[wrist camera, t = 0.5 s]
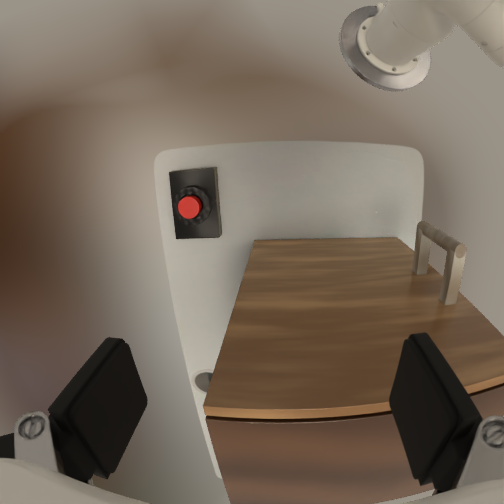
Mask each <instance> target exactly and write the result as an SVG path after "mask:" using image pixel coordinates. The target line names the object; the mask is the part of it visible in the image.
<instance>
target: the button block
mask: <svg viewBox="0 0 504 504" xmlns="http://www.w3.org/2000/svg"><path fill="white" fill-rule="evenodd" d="M169 176H170V187H171V197H172V207H173V216H174V224H175V233H176V239H189V238H218V237H220V236H221V235H222V230H221V218H220V206H219V193H218V179H217V167H213V168H201V169H190V170H180V171H172V172H169ZM190 195H193V196H196V197H197V198H199V200H200V201H201V204H202V209H201V212H200V213H199V214H198V215H197V216H195V217H194V218H191V219H187V218H184V217H183V216H182V215H181V214H180V213H179V210H178V205H179V202H180V201H181V199H183V198H185V197H187V196H190Z"/></svg>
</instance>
